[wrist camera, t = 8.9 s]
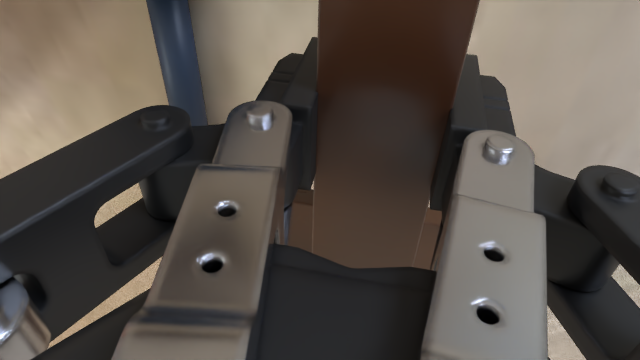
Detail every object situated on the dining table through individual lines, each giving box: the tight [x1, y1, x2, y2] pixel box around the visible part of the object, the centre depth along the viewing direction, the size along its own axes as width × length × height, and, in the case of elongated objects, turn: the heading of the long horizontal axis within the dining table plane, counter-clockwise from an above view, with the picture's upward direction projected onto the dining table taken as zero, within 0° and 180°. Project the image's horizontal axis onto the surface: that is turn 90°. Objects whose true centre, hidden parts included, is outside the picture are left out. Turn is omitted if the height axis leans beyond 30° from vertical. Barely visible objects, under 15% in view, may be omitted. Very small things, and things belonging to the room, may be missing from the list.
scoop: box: [146, 0, 208, 126], centre depth 17 cm, size 19×8×3 cm, turn 179°
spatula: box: [289, 0, 480, 270], centre depth 12 cm, size 20×6×3 cm, turn 178°
